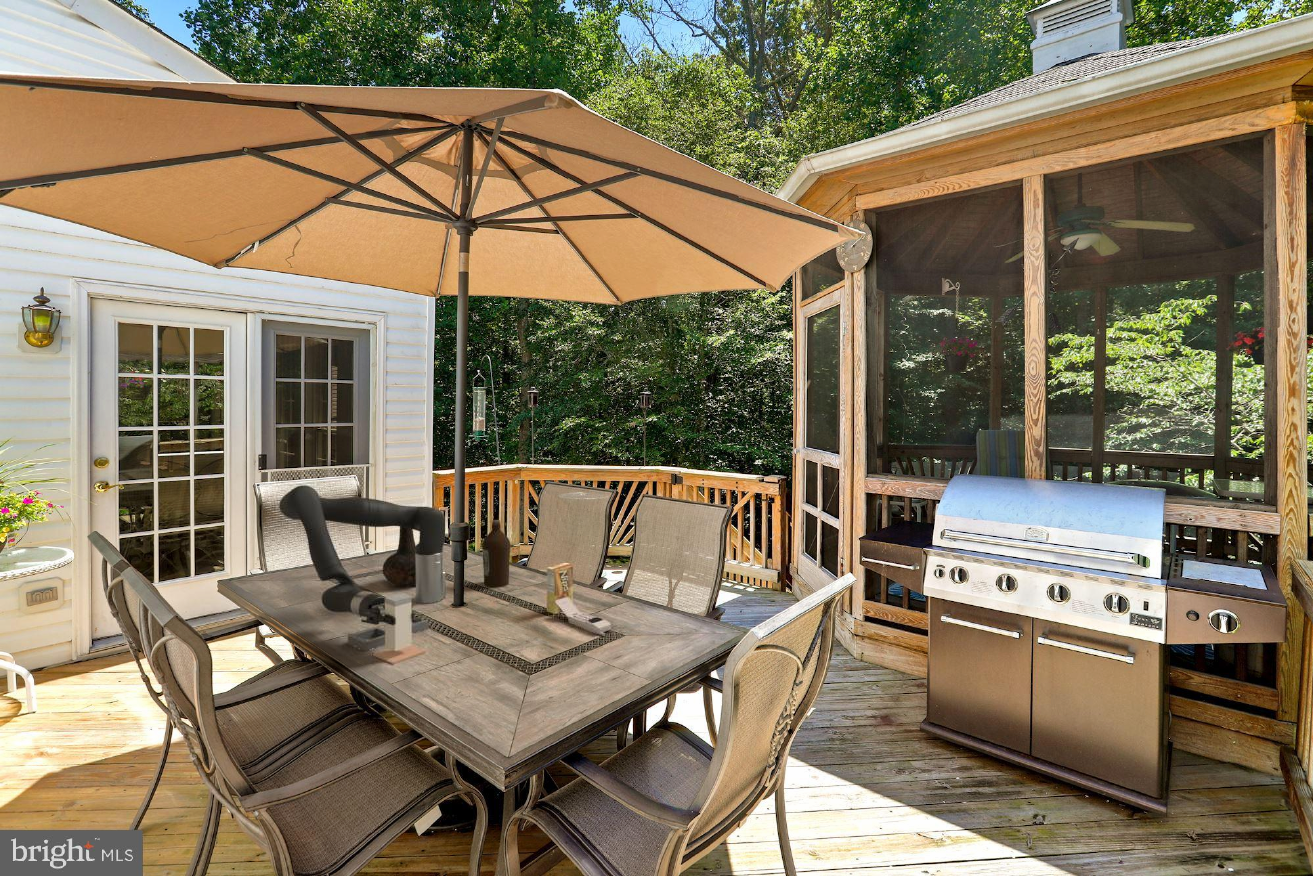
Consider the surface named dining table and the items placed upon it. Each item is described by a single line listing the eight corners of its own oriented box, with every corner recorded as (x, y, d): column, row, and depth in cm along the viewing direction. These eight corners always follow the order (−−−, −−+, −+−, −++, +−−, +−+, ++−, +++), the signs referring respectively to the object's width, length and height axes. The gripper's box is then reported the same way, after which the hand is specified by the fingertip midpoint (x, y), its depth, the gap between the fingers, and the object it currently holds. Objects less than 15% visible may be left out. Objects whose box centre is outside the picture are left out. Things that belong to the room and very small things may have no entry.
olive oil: (506, 578, 250) (506, 517, 248) (513, 585, 240) (513, 521, 239) (479, 582, 245) (479, 519, 243) (485, 589, 235) (485, 524, 234)
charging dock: (412, 623, 199) (412, 614, 199) (430, 629, 194) (430, 620, 194) (347, 643, 182) (347, 633, 182) (365, 651, 176) (365, 641, 176)
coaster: (405, 644, 182) (405, 642, 182) (425, 652, 176) (425, 650, 176) (372, 655, 174) (372, 653, 174) (393, 664, 168) (393, 662, 168)
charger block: (401, 641, 178) (401, 593, 177) (411, 645, 175) (411, 596, 174) (385, 646, 174) (384, 597, 173) (395, 651, 171) (395, 601, 170)
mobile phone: (567, 596, 210) (616, 614, 192) (568, 613, 210) (616, 633, 193) (553, 600, 206) (601, 619, 188) (553, 618, 206) (601, 638, 188)
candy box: (564, 605, 218) (564, 562, 217) (573, 607, 216) (573, 564, 215) (546, 612, 211) (546, 567, 210) (555, 614, 208) (555, 569, 208)
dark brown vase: (441, 578, 249) (440, 509, 247) (414, 592, 232) (413, 517, 230) (402, 575, 253) (401, 507, 251) (372, 588, 236) (371, 515, 234)
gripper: (346, 599, 176) (379, 612, 167) (392, 587, 188) (426, 598, 178) (346, 625, 177) (379, 639, 167) (392, 612, 189) (426, 624, 179)
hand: (403, 618), depth 173 cm, fingers closed on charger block, 5 cm apart
